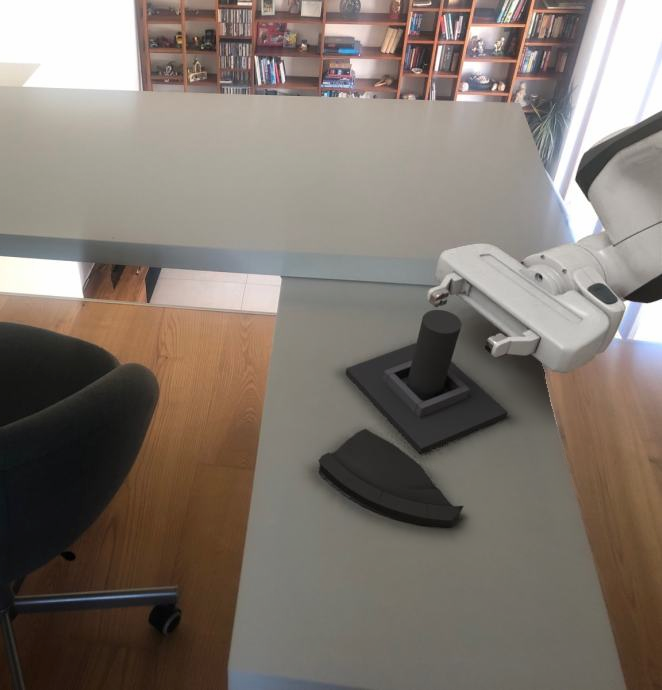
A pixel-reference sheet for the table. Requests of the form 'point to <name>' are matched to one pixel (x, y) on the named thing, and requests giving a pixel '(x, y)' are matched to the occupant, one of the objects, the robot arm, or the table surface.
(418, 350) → the dark cylindrical post
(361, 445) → the dark sector wedge
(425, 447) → the base pad
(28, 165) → the table surface
